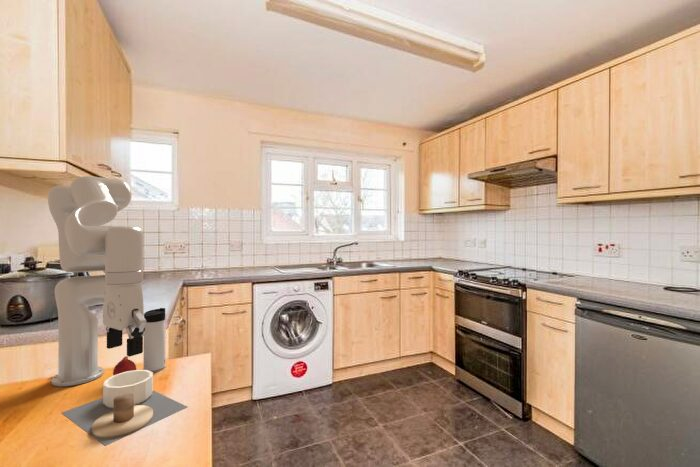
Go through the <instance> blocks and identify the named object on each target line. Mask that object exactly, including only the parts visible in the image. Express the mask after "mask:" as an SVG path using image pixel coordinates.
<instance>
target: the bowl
mask: <svg viewBox="0 0 700 467" xmlns="http://www.w3.org/2000/svg"><path fill="white" fill-rule="evenodd" d="M102 387H103V388H102V398H103V404H105V405H106V406H107V407H108V408H114V398H115V397H117V396H119V395H122V394H126V393H132V394H134V405H137V404H140V403H142V402H144V401H145V400H147V399H148V398H149V397H150V396H151V395H152V392H153V390H154V372H151V371H149V370H144V369H136V370H133V371H127V372H123V373H120V374H117V375H114V376H113V375H112V376H110V377H108V378H107V379H105V380H104V382H103V384H102Z"/></svg>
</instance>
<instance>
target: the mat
mask: <svg viewBox="0 0 700 467" xmlns="http://www.w3.org/2000/svg"><path fill="white" fill-rule="evenodd" d="M137 405H144V406H149V407H151V408H152V409H153V418H152V420H151V421H150V422H149V423H148V424H147V425H145V426H144V427H142V428H141V429H139V430H137V431H134V432H132V433H129V434H126V435H123V436H118V437H113V438H100V437H96V436H94V435H93V434H92V425H93V423H94V422H95V421H96V420H97V419H98V418H99V417H101V416H103V415H104V414H106V413H108V412H111V411H113V408H108V407H107V406H106V405H105V404H103V397H100V398H98V399H96V400H93V401H90V402H87V403H84V404H82V405H78V406H75V407H73V408H70V409H67V410H65V411H62V412H61V414H62V415H63V416H65V417H66V418H67V419H69V420H70V421H72V422H73V423H74V424H75V425H77V426H78V427H79V428H80V429H82V430H83V431H85V432H86V433H87V434H89V435H90V436H91V437H92V438H93V439H95V440H96V441H98V443H101V444H102V446H104V447H106V446H108V445H111V444H112V443H115V442H117V441H119V440H121V439H123V438H125V437H127V436H129V435H130V436H131V435H132V434H134V433H135V432H138V431H140V430H142V429H144V428H147V427H149V426H151V425H153V424H155V423H157V422H159V421H161V420H163V419H165V418H168V417H169V416H172V415H174V414H176V413H178V412H181V411H182V410H185V409H186V408H187V409H188V406H186V405H184V404H183V403H181V402H178V401H177V400H174V399H172V398H170V397H168V396H166V395H164V394H162V393H160V392H157V391H156V390H154V389H153V392H152V395H151V396H150V397H149V398H148V399H147V400H145V401H144V402H142V403H140V404H137Z"/></svg>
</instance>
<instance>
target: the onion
mask: <svg viewBox="0 0 700 467" xmlns="http://www.w3.org/2000/svg"><path fill="white" fill-rule="evenodd" d="M133 370H137V365H136V363H135V362H134V361H132V360H131V359H129V356H127V355H126V356H124V357H123V358H122V359H121V360H120V361H119V362H118V363H117V364H116V365H115V366H114V367H113V371H112V376H114V375H117V374H120V373H123V372H127V371H133Z"/></svg>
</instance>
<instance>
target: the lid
mask: <svg viewBox="0 0 700 467" xmlns="http://www.w3.org/2000/svg"><path fill="white" fill-rule="evenodd" d="M152 418H153V409H152V408H151V407H149V406H144V405H134V394H132V393H126V394H122V395H119V396H117V397H115V398H114V408H113V411H111V412H108V413H106V414H104V415H103V416H101V417H99V418H98V419H97V420H96V421H95V422H94V423H93V425H92V434H93V435H94V436H96V437H100V438H113V437H118V436H123V435H126V434H129V433H132V432H134V431H136V432H138V431H140V430H142V429H143V428H142V427H144V426H145V425H147V424H148V423H149V422H150V421H151V420H152ZM141 428H142V429H141ZM144 428H145V427H144ZM139 429H140V430H139ZM137 430H138V431H137ZM134 433H135V432H134ZM132 434H133V433H132Z"/></svg>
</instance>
